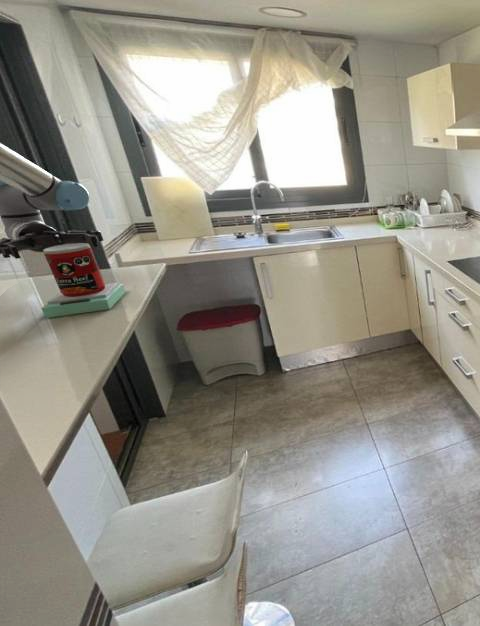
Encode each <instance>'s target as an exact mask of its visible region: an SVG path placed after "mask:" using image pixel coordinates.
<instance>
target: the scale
mask: <svg viewBox="0 0 480 626" xmlns="http://www.w3.org/2000/svg"><path fill="white" fill-rule="evenodd" d="M125 294H126V291H125V288H124V285H123V283H119V282H113V283H105V289H104V290H102V291H99V292H96V293H93V294H88V295H83V296H75V297H67V296H64V295H63V294H62V293H61V291H60V292H59V293H58V294H56V295H55V296H54V297H52V298H51V299H50V300H48V301H47V303H46V304H45V305H43V306H42V307H41V310H42V313H43V316H44V317H45V319H48V318H55V317H61V316H62V317H63V316H70V315H71V316H72V315H76V314H77V315H78V314H84V313H85V314H86V313H93V312H99V311H106V310H107V311H108V310H111V309H112V308H113V307H114V306H115V304H116V303H118V301H119V300H120V299H121V298H122V297H123V296H124V295H125Z"/></svg>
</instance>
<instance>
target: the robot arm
mask: <svg viewBox="0 0 480 626" xmlns="http://www.w3.org/2000/svg"><path fill="white" fill-rule="evenodd" d="M89 202H90V194H89V191H88V190H87V188H86V187H85V186H84V185H82V184H81V183H79V182H76V181H71V180H61V179H60V178H58V177H56V176H55V175H53V174H51V173H49V172H48V171H46V170H44V169H43V168H41V167H40V166H38V165H36V164H35V163H33V162H32V161H30V160H29V159H27V158H25V157H24V156H22V155H20V154H19V153H17V152H16V151H14V150H13V149H11V148H9V147H8V146H6V145H4V144H3V143H2V142H0V219H1V222H2V223H3V226H4V232H5V235H6V237H2V238H0V255H2V257H3V259H10V258H11V257H13V258H14V259H15V260H18V259H21V257H22V256H20V253H19V252H21V251H31V252H34V253H44V251H43V250H44V249H46V248H49V247H54V246H59V245H65V244H75V243H87V244H89V245H90V247H93V248H98V247H99V245H98V243H100V242H103V241H104V237H103V234H102V232H101V231H100V230H92V229H88V230H77V229H70V230H68V232H64V231H57V230H56V229H54V228H53V227H51V226H49V225H47V224H46V222H45V221H44V218H43V215H42V212H41V211H66V212H69V211H77V210H78V211H79V210H83V209H84V208H86V207H87V206H88V205H89Z"/></svg>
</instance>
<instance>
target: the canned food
mask: <svg viewBox="0 0 480 626" xmlns="http://www.w3.org/2000/svg"><path fill="white" fill-rule="evenodd" d="M43 251H44V252H43V254H44V257H45V260H46V261H47V264H48V266H49V269H50V271H51V274H52V276H53V277H54V280H55V282H56V284H57V287H58V289H59V291H60V292H61V293H62V294H63V295H64V296H67V297H75V296H83V295H88V294H93V293H96V292H99V291H102V290H104V289H105V284H106V282H105V280H104V278H103V275H102V272H101V270H100V267H99V264H98V262H97V259H96V257H95V253H94V251H93V250H92V246H90V245H89V244H87V243H69V244H65V245H58V246H54V247H49V248H46V249H44V250H43Z"/></svg>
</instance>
